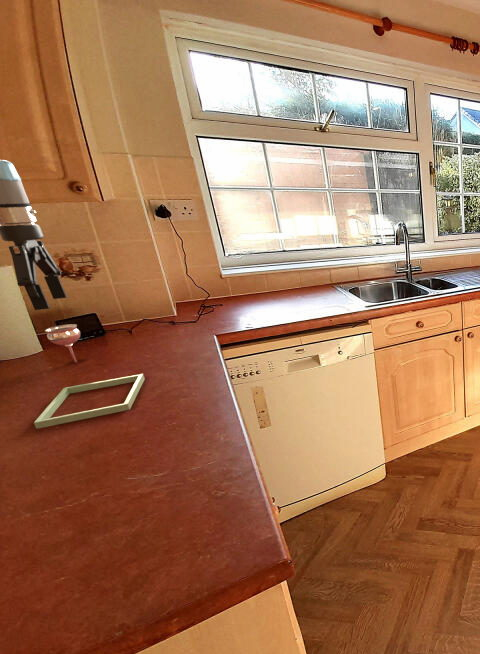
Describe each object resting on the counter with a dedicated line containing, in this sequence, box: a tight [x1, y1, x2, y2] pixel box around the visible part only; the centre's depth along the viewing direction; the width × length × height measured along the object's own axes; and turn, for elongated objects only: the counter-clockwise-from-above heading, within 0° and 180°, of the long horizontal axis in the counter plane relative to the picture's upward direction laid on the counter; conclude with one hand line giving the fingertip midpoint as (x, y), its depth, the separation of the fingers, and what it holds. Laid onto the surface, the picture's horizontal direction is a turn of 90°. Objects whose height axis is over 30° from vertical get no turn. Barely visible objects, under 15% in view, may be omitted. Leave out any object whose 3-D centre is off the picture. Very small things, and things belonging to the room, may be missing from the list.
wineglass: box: [44, 323, 82, 363], centre depth 123 cm, size 7×7×12 cm
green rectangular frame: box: [33, 373, 146, 430], centre depth 102 cm, size 16×20×3 cm
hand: (51, 303), depth 118 cm, fingers open, 13 cm apart
